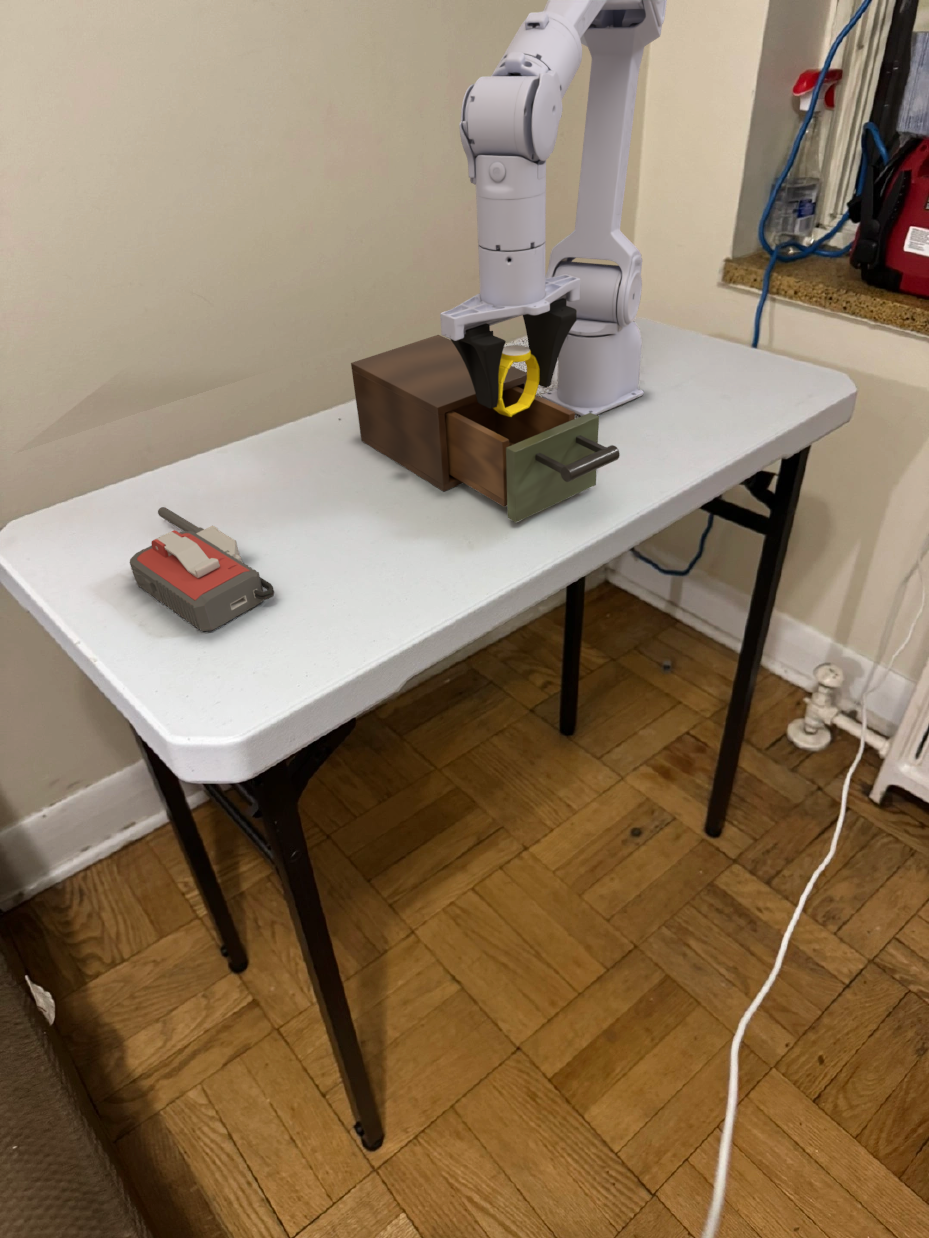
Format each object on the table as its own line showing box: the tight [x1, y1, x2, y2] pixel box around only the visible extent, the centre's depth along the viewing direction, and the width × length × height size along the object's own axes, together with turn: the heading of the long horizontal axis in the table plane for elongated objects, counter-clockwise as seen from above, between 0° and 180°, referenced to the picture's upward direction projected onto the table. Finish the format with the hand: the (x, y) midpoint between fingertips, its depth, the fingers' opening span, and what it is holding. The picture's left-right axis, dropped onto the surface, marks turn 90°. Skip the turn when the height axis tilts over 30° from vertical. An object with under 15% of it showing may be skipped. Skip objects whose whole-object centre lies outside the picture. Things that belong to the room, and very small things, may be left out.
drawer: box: [445, 386, 621, 524], centre depth 84 cm, size 19×10×7 cm, turn 38°
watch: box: [493, 344, 540, 417], centre depth 81 cm, size 6×3×6 cm, turn 139°
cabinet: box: [350, 334, 527, 492], centre depth 92 cm, size 16×12×9 cm
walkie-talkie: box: [129, 506, 275, 632], centre depth 77 cm, size 9×4×20 cm
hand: (514, 394), depth 81 cm, fingers closed on watch, 6 cm apart
